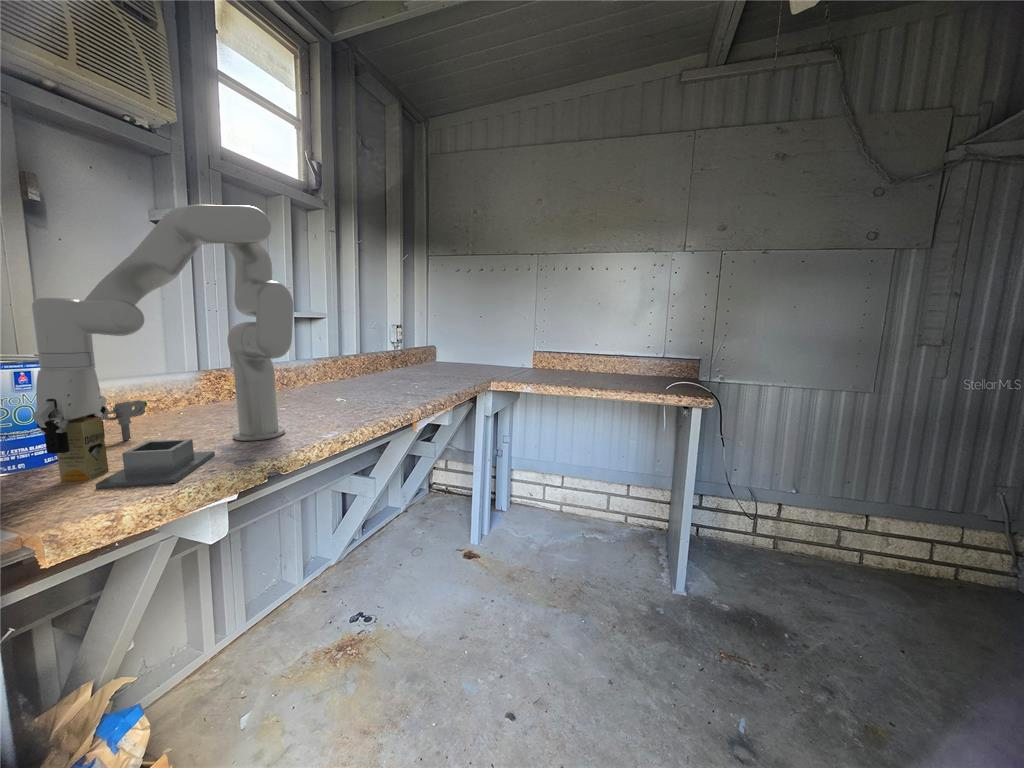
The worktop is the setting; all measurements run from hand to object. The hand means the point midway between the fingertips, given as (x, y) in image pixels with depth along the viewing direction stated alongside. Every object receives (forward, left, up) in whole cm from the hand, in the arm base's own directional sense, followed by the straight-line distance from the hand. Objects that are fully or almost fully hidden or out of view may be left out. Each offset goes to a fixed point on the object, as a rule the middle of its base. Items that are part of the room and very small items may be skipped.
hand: (77, 445), depth 85 cm
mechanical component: (-28, -8, -7) cm, 30 cm away
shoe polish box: (0, 0, -7) cm, 7 cm away
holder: (-1, +13, -7) cm, 15 cm away
